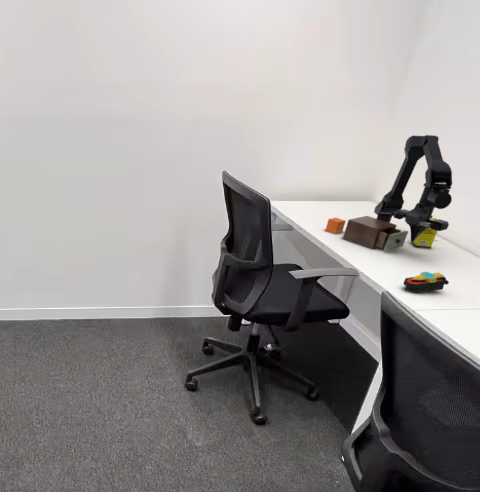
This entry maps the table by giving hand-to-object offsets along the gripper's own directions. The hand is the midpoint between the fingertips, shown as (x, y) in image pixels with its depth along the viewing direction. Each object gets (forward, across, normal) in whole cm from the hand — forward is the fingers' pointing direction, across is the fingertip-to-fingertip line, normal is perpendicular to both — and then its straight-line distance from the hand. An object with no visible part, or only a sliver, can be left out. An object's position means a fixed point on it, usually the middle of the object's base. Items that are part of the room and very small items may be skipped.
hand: (412, 241), depth 215 cm
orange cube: (+5, -31, -5) cm, 32 cm away
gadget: (+5, +24, -33) cm, 41 cm away
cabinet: (+5, -16, -4) cm, 17 cm away
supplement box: (+5, -2, +13) cm, 14 cm away
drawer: (+4, -9, -4) cm, 11 cm away
